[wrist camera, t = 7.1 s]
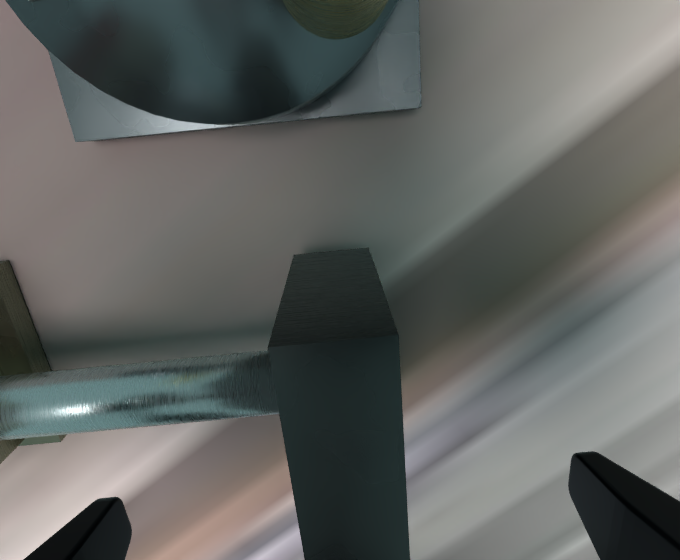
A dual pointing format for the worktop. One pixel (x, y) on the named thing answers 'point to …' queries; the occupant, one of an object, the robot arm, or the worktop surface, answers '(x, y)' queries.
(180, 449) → the worktop surface
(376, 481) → the block-headed metal hammer
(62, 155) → the worktop surface
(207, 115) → the handwheel
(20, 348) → the grey-green hollow piece
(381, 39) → the wheel base
